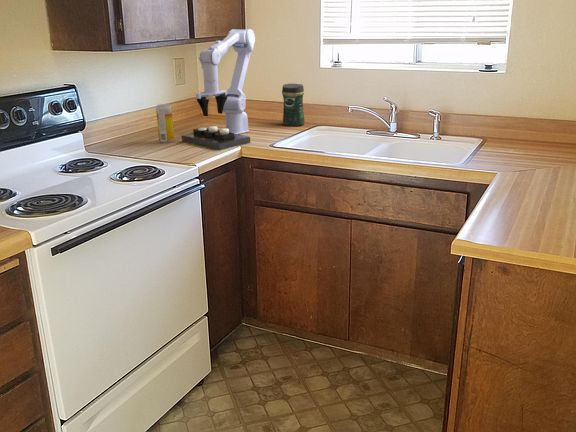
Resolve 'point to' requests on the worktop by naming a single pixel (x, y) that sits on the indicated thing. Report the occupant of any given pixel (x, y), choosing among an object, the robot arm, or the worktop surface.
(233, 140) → the push button control box
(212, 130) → the button
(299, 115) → the coffee jar
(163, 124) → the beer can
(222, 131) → the button
